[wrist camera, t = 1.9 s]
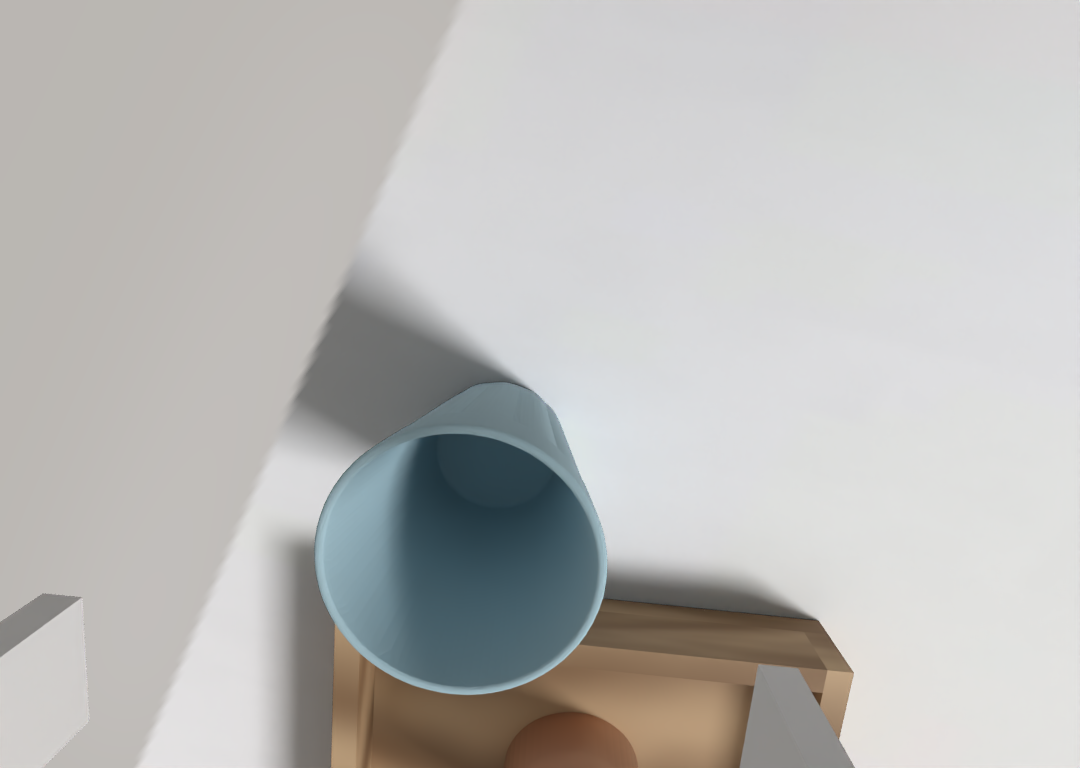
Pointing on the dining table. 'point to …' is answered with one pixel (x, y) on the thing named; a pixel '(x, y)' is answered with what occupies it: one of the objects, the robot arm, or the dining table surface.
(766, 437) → the dining table surface
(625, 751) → the tan rounded piece
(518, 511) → the cup
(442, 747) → the divided wooden tray
